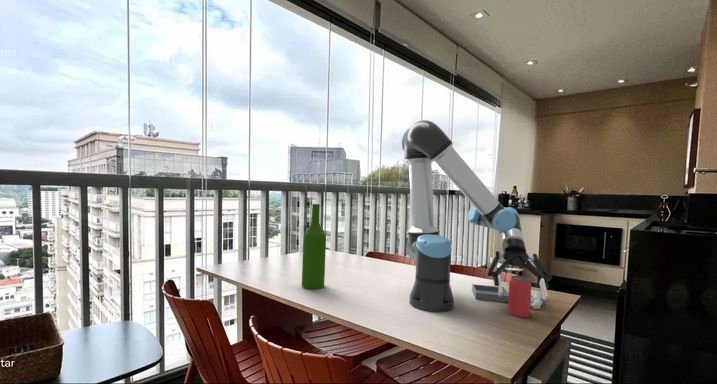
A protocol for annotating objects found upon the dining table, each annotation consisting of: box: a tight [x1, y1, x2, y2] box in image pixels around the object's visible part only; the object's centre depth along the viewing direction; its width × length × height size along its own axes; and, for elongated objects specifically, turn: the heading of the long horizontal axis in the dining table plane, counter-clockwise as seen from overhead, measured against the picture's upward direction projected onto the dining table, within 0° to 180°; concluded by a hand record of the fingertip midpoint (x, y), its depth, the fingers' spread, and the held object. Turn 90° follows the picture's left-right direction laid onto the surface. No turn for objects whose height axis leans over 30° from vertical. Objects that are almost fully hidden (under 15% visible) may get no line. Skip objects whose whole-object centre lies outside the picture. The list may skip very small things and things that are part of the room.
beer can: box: [507, 275, 532, 318], centre depth 111 cm, size 7×7×12 cm
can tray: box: [471, 283, 509, 304], centre depth 130 cm, size 12×12×2 cm
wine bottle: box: [301, 203, 327, 290], centre depth 135 cm, size 9×9×32 cm
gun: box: [531, 289, 544, 310], centre depth 125 cm, size 18×3×10 cm
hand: (523, 296), depth 111 cm, fingers open, 13 cm apart
